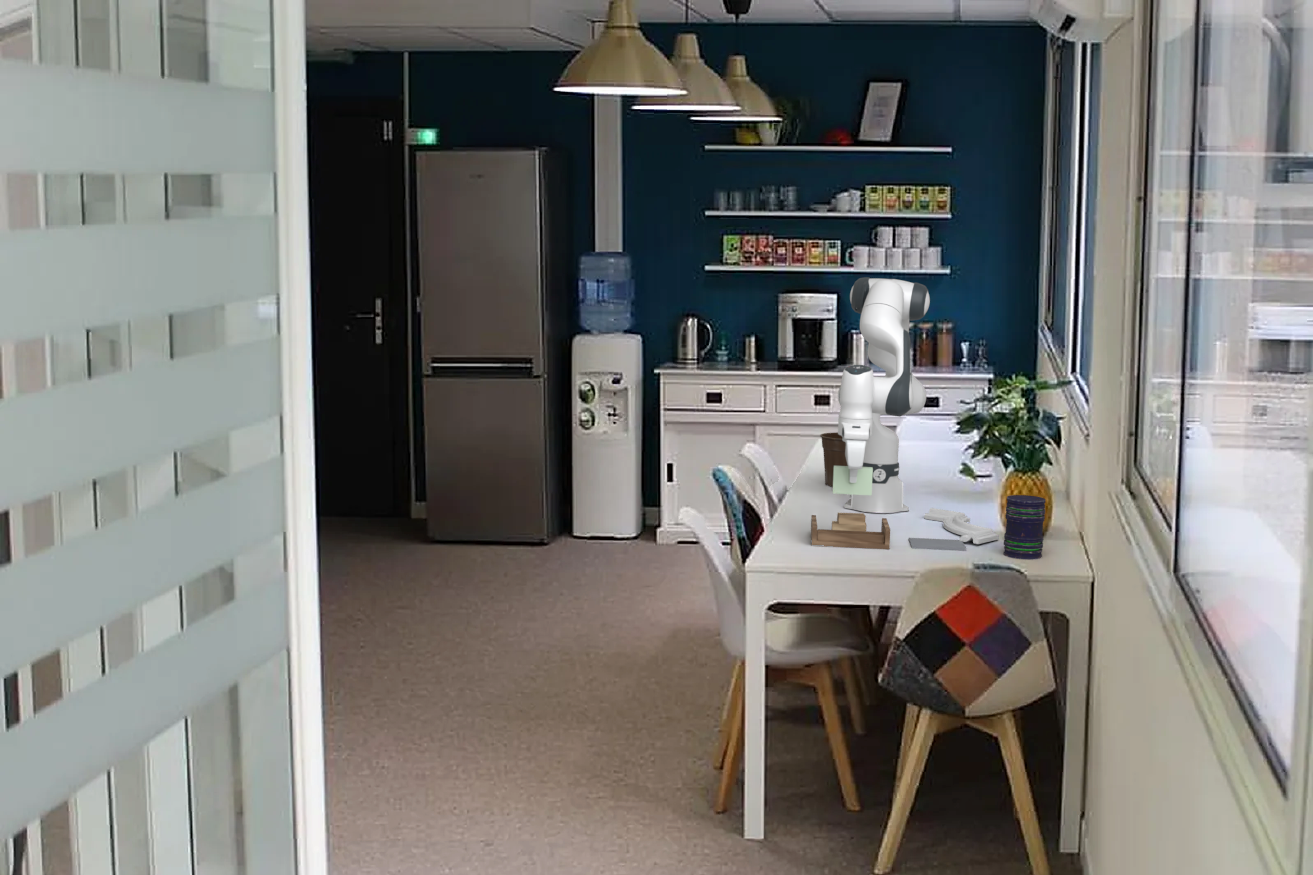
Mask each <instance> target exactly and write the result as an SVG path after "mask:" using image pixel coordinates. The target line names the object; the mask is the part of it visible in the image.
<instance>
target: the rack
mask: <svg viewBox="0 0 1313 875" xmlns="http://www.w3.org/2000/svg"><path fill="white" fill-rule="evenodd" d="M810 516H811V520H810V540H812V543H811V546H812V545H824V546H823V547H827V546H833V547H832V548H850V549H853V548H854V549H855V548H856V549H869V550H870V549H872V550H875V549H877V550H890V546H891V544H890V543H891V528H890V525H889V522H888V518H885V517H882V518H881V530H880V531H867V530H866V531H846V530H832V529H819V528H818V521H817V515H816V514H811V515H810Z"/></svg>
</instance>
